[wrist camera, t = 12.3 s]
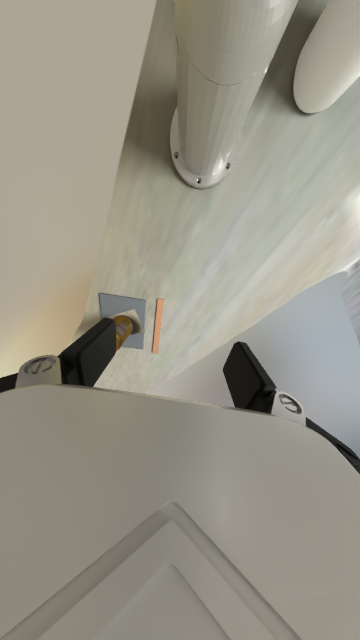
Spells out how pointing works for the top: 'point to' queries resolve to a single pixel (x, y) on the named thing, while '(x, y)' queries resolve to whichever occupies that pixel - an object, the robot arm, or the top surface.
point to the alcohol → (329, 57)
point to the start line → (157, 325)
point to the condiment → (126, 326)
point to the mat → (123, 304)
